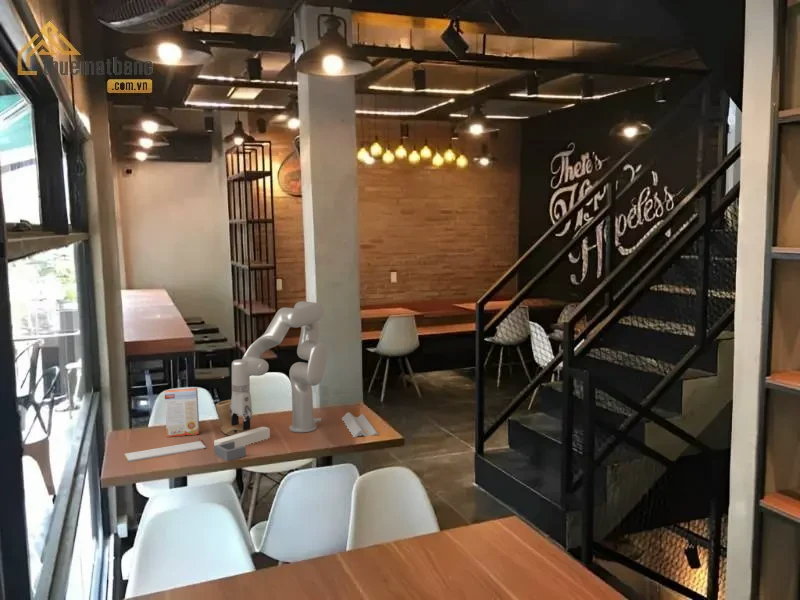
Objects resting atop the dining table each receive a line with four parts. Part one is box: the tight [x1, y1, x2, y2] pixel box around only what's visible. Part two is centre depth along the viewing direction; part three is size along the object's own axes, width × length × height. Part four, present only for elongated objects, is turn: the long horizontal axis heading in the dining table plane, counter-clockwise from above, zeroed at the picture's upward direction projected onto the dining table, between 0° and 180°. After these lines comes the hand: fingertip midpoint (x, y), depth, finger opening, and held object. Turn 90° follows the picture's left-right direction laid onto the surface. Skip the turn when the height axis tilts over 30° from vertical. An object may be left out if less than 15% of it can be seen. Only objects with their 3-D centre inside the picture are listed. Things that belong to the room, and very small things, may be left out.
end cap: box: [213, 441, 247, 462], centre depth 272 cm, size 8×10×4 cm
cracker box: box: [164, 387, 200, 438], centre depth 301 cm, size 14×6×21 cm, turn 103°
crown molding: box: [341, 411, 380, 438], centre depth 312 cm, size 31×12×4 cm, turn 15°
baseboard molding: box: [124, 437, 207, 463], centre depth 278 cm, size 31×3×12 cm
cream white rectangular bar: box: [213, 426, 271, 448], centre depth 286 cm, size 26×4×5 cm, turn 140°
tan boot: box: [215, 399, 248, 436], centre depth 303 cm, size 15×12×15 cm
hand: (240, 427), depth 285 cm, fingers open, 9 cm apart
